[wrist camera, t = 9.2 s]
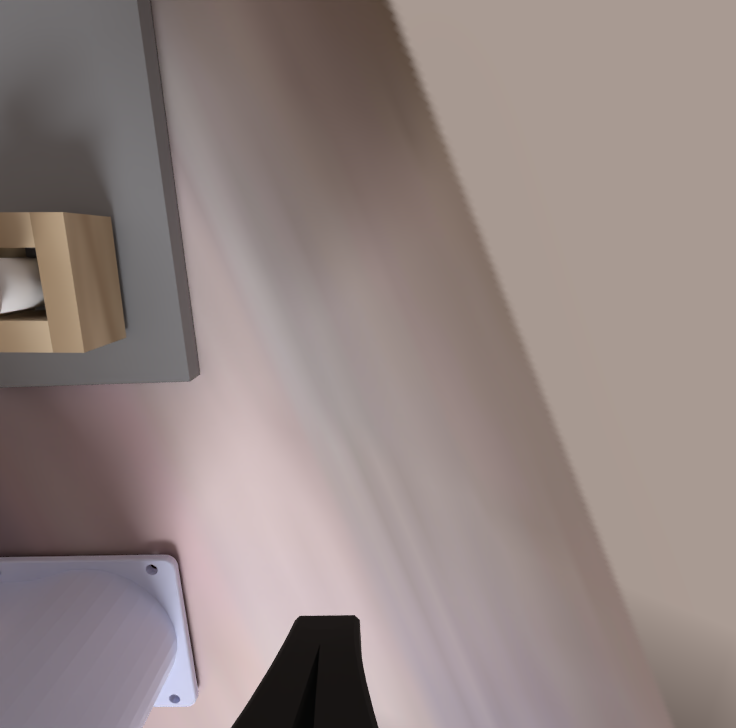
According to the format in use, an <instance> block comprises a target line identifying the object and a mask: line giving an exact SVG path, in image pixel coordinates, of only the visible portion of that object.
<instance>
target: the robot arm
mask: <svg viewBox="0 0 736 728" xmlns="http://www.w3.org/2000/svg"><path fill="white" fill-rule="evenodd" d="M151 565H154V566H156V567H157V569H154V568H152V567H151ZM197 697H198V686H197V680H196V674H195V668H194V662H193V655H192V649H191V643H190V637H189V631H188V624H187V618H186V612H185V606H184V600H183V594H182V587H181V581H180V575H179V569H178V564H177V561H176V560H175V559H174V557H172V556H170V555H165V554H164V555H104V556H44V557H0V728H143V726H144V724H145V722H146V720H147V718H148V716H149V714H150V712H151V710H152V708H153V707H187V706H191V705H193V704H194V703H195V702H196V699H197ZM231 728H378V725H377V721H376V718H375V714H374V711H373V707H372V703H371V699H370V695H369V691H368V687H367V683H366V678H365V673H364V668H363V663H362V653H361V635H360V620H359V619H358V618H357V617H356V616H355V615H344V616H299V617H298V618H297V619H296V620H295V622H294V624H293V626H292V628H291V630H290V632H289V634H288V636H287V638H286V640H285V641H284V643H283V645H282V647H281V649H280V651H279V652H278V654H277V656H276V658H275V659H274V661H273V663H272V665H271V666H270V668H269V670H268V671H267V673H266V675H265V676H264V678H263V679H262V681H261V683H260V684H259V686H258V687H257V689H256V691H255V692H254V694H253V696H252V697H251V699H250V700H249V702H248V703H247V705H246V707H245V708H244V710H243V711H242V713H241V714H240V715H239V717H238V718H237V720H236V721H235V723H234V724H233V726H232V727H231Z"/></svg>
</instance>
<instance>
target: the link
mask: <svg viewBox="0 0 736 728" xmlns="http://www.w3.org/2000/svg"><path fill="white" fill-rule="evenodd" d="M25 248H35V249H36V255H37V261H38V267H39V273H40V279H41V285H42V290H43V296H44V302H45V308H46V310H36V309H35V307H34V308H28V309H23V310H17V311H12V312H6V313H0V352H34V353H85V352H88V351H90V350H93V349H96V348H99V347H102V346H104V345H107V344H110V343H113V342H115V341H118V340H121V339H124V338H126V331H125V323H124V315H123V308H122V300H121V292H120V284H119V277H118V269H117V261H116V254H115V246H114V238H113V230H112V223H111V217H107V216H97V215H87V214H77V213H67V212H0V258H13V257H26V251H25Z"/></svg>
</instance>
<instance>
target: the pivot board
mask: <svg viewBox="0 0 736 728" xmlns="http://www.w3.org/2000/svg"><path fill="white" fill-rule="evenodd" d="M0 212H67V213H77V214H87V215H97V216H107V217H111V223H112V230H113V238H114V246H115V254H116V261H117V269H118V277H119V284H120V292H121V300H122V308H123V315H124V323H125V331H126V338H124V339H121V340H118V341H115V342H113V343H110V344H107V345H104V346H102V347H99V348H96V349H93V350H90V351H88V352H85V353H34V352H0V388H2V387H33V386H64V385H96V384H127V383H158V382H189V381H191V380H193V379H194V378H196V377H197V376H198V375H200V372H199V364H198V357H197V349H196V342H195V334H194V327H193V319H192V312H191V304H190V297H189V289H188V282H187V274H186V267H185V259H184V252H183V244H182V237H181V229H180V222H179V214H178V207H177V199H176V192H175V184H174V177H173V169H172V162H171V154H170V147H169V139H168V132H167V124H166V117H165V109H164V102H163V94H162V87H161V79H160V72H159V64H158V57H157V49H156V42H155V34H154V27H153V19H152V12H151V4H150V0H0ZM25 251H26V257H13V258H0V313H6V312H12V311H17V310H23V309H28V308H34V307H35V309H36V310H46V308H45V302H44V296H43V290H42V285H41V279H40V273H39V267H38V261H37V255H36V249H35V248H25Z"/></svg>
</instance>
